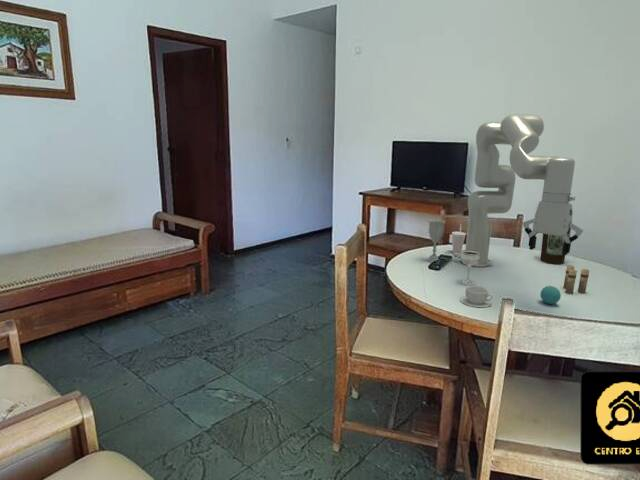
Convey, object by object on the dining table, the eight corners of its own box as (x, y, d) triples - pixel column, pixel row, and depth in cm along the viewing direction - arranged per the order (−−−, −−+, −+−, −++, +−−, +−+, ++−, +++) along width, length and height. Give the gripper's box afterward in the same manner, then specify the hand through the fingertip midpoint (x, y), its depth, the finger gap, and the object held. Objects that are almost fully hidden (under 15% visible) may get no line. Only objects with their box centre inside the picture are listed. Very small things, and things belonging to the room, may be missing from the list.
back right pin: (579, 293, 153) (583, 270, 151) (576, 290, 155) (580, 268, 153) (586, 293, 153) (590, 271, 151) (583, 291, 155) (587, 268, 153)
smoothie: (464, 255, 198) (467, 225, 194) (450, 254, 199) (453, 225, 195) (463, 251, 204) (466, 223, 200) (449, 250, 205) (451, 222, 202)
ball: (543, 306, 141) (545, 289, 140) (536, 299, 147) (538, 282, 145) (562, 307, 140) (565, 290, 139) (554, 300, 146) (557, 283, 145)
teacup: (456, 303, 143) (457, 290, 141) (464, 294, 151) (466, 282, 149) (487, 311, 137) (489, 297, 136) (494, 301, 145) (496, 288, 144)
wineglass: (457, 284, 160) (461, 253, 157) (458, 278, 167) (461, 248, 164) (476, 286, 158) (480, 255, 155) (477, 280, 164) (480, 250, 161)
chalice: (443, 260, 190) (446, 220, 185) (440, 264, 184) (444, 223, 179) (426, 257, 193) (429, 219, 188) (423, 261, 187) (426, 221, 182)
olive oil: (537, 256, 197) (545, 203, 191) (563, 259, 194) (572, 205, 187) (539, 263, 188) (548, 207, 181) (567, 266, 184) (576, 209, 178)
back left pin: (564, 289, 157) (568, 267, 155) (561, 286, 159) (565, 265, 157) (572, 289, 157) (575, 267, 154) (568, 287, 159) (572, 265, 157)
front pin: (567, 293, 152) (570, 271, 150) (563, 291, 155) (567, 269, 153) (574, 294, 152) (578, 271, 150) (571, 291, 154) (575, 269, 152)
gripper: (591, 200, 128) (582, 255, 132) (531, 194, 140) (524, 245, 144) (583, 202, 123) (574, 259, 127) (522, 196, 135) (515, 248, 139)
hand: (548, 251), depth 135 cm, fingers open, 9 cm apart
